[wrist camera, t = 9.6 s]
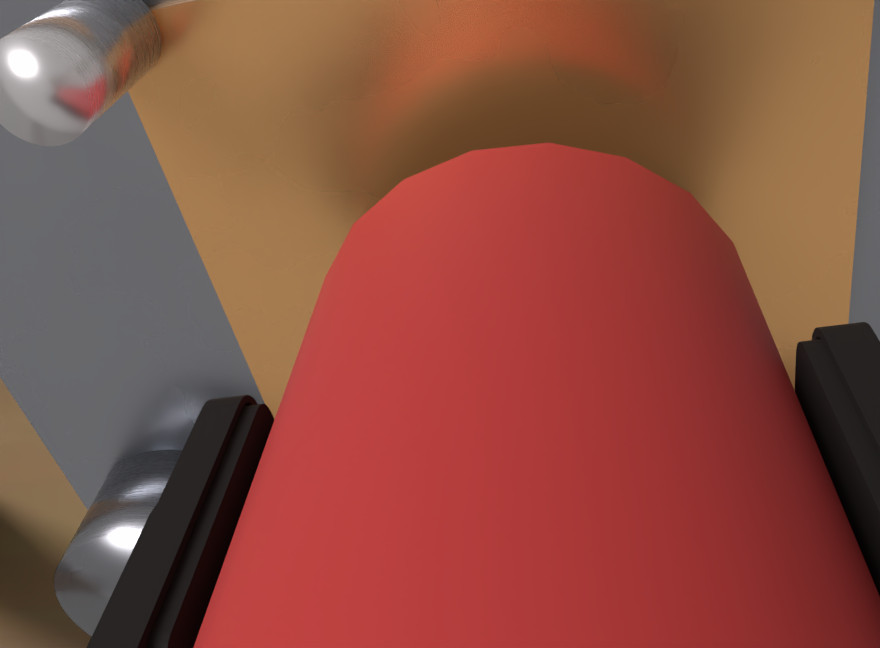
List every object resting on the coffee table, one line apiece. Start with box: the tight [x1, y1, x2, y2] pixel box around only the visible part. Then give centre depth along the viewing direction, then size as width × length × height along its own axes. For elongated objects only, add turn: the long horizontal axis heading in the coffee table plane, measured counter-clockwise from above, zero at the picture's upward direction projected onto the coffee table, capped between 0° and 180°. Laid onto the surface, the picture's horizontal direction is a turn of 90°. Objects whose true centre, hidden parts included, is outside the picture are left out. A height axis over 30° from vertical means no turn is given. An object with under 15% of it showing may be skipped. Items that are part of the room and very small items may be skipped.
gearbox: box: [0, 0, 880, 636], centre depth 15 cm, size 25×17×7 cm
